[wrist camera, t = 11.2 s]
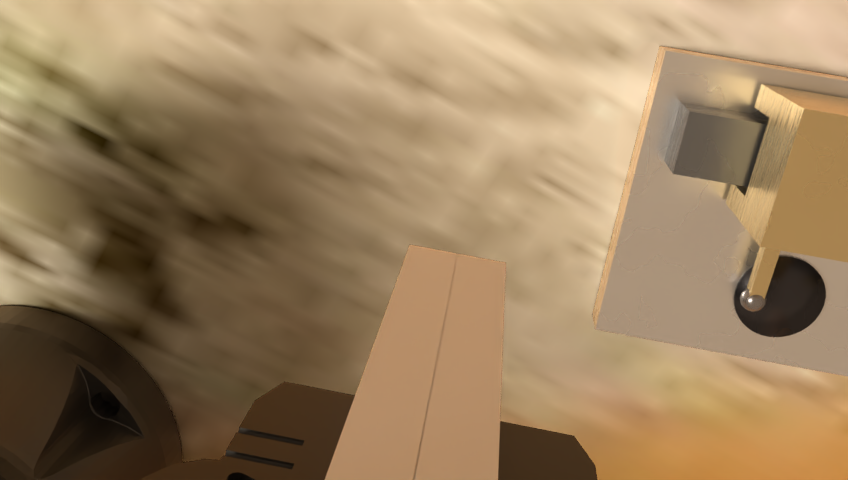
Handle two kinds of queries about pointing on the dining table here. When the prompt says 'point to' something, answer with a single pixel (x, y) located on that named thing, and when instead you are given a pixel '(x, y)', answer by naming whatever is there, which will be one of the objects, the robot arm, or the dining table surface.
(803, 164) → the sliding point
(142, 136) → the dining table surface
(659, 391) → the dining table surface
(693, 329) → the bolt plate
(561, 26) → the dining table surface
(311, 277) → the dining table surface
